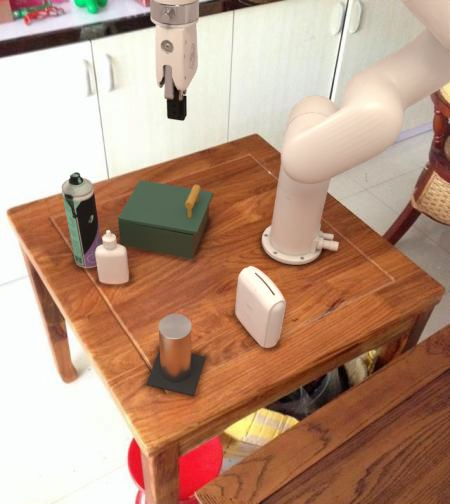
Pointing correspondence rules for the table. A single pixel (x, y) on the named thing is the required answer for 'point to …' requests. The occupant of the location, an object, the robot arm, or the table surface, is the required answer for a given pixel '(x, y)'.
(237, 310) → the photo printer
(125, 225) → the chest
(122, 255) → the eye dropper bottle
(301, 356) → the table surface
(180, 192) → the lid
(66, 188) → the spray can
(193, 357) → the coaster
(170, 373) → the tin can
